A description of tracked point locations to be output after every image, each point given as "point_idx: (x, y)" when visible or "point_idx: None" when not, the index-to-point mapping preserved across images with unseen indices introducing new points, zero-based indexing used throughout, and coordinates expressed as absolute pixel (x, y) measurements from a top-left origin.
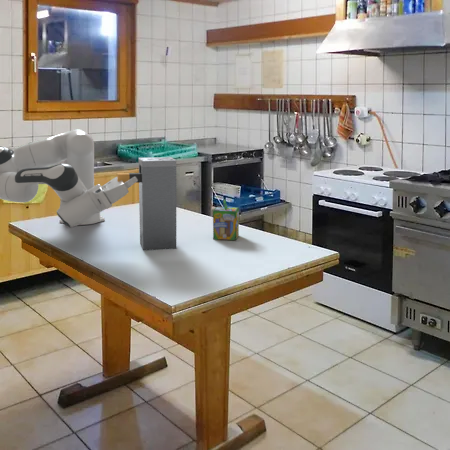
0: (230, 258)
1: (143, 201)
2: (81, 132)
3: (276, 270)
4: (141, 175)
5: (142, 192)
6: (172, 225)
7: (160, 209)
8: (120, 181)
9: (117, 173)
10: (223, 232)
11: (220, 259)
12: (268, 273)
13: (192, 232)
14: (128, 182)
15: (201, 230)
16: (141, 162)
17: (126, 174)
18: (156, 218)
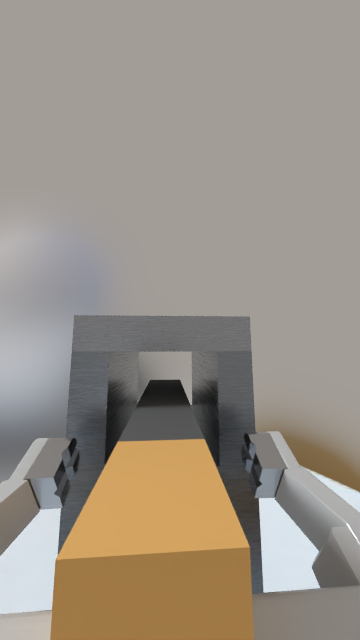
0: (282, 521)
1: (260, 592)
2: None
3: (322, 478)
4: (224, 411)
5: (259, 526)
6: None
7: None
8: (348, 638)
9: (92, 552)
10: None
11: (297, 540)
12: (345, 488)
13: (31, 568)
14: (353, 520)
15: (31, 541)
16: (231, 327)
17: (211, 455)
18: None
